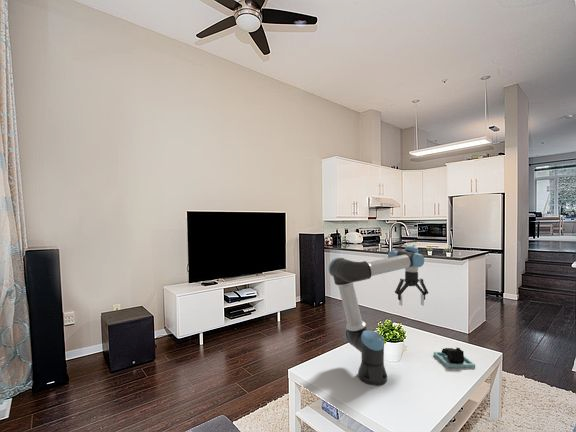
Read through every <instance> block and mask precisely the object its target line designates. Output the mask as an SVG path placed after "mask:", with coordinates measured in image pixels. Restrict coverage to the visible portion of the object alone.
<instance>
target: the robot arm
mask: <svg viewBox="0 0 576 432" xmlns="http://www.w3.org/2000/svg"><path fill="white" fill-rule="evenodd" d="M424 263H425V257H424V256H423V255H422V254H421V253H419V248H418V247H417V246H413V245H406V246H405V247H404V249H402V250H401V249H399V250H398V249H395V250H390V251H388V254H387V257H386V258H382V259H378V260H377V259H376V260H373V261H366V260H365V261H364V260H363V261H354V260H349V259H347V258H346V259H345V258H344V257H336V258H334V259H332V260H331V261H330V263H329V264H328V273H329V274H330V276H332V277H333V281H334V284H335V285H336V286H337V287H338V290H339V294H340V298H341V301H342V302H341V303H342V306H343V310H344V313H345V318H346V322H347V324H346V325H345V331H344V337H345V340H346V341H347V342H348V343H349V344H350V345H351V346H353V347H354V348H355V349H356V350H357V351H359V352H360V353H361V362H360V365H359V368H358V371H357V372H358V373H357V374H358V375H357V376H358V379H359V380H360V381H362V382H363V383H365V384H368V385H371V386H382V385H384V384H386V383H387V381H388V373H387V371H386V367H385V363H384V362H385V358H384V357H385V341H384V337H383V336H382V334H380V332H377V331H374V330H370V329H369V330H368V327H367V324H366V322H365V321H363V318H362V315H361V310H360V306H359V302H358V298H357V294H356V290H355V287H354V283H357V282H362V281H366V280H370V279H371V278H372V277H374V276H377V275H381V274H382V275H384V274H386V273H390V272H394V271H399V270H403V269H404V270H405V271H404V274H405V275H404V276H405V277H404V278H405V279H404V278H399V283H398V285H397V286H396V288H395V290H394V294H396V295H397V300H398V301H399V303H398V304H399V305H400V306H401V307H402V306H403V295H402V294H403V293H404V292H405V290H406V289H407V288H408V287H415V288H417V289H418V290H419V292H420V305H421V306H425V301H426V296H427V295H428V294H429V291H428V289H427V286H426V285H425V283H424V282H425V281H424V279H423V278H419V272H418V271H419V268H422V266H423V265H424ZM418 283H419V284H420V285H419V284H418Z"/></svg>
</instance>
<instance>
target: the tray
mask: <svg viewBox="0 0 576 432" xmlns="http://www.w3.org/2000/svg"><path fill="white" fill-rule="evenodd" d="M433 356H434V357H435V359H437V361H439V362H440V363H441V364H442V365H444V366H445V367H446V368H447V369H476V364H475V363H474V362H473V361H472V360H470V359H469V358H468V357H466V356H465V355H464V362H463V363H462V364H458V363H452V362H449V361H448V359H447V355H446V354H445V353H442V351H433Z"/></svg>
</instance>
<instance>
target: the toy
mask: <svg viewBox="0 0 576 432" xmlns="http://www.w3.org/2000/svg"><path fill="white" fill-rule="evenodd" d="M441 352H442V353H445V354H446V355H447V359H448V361H449V362H452V363H458V364H462V363H463V362H464V356H465V355H464V350H462V349H461V348H460V347H456V348H453V347H444V348H442V349H441Z"/></svg>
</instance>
